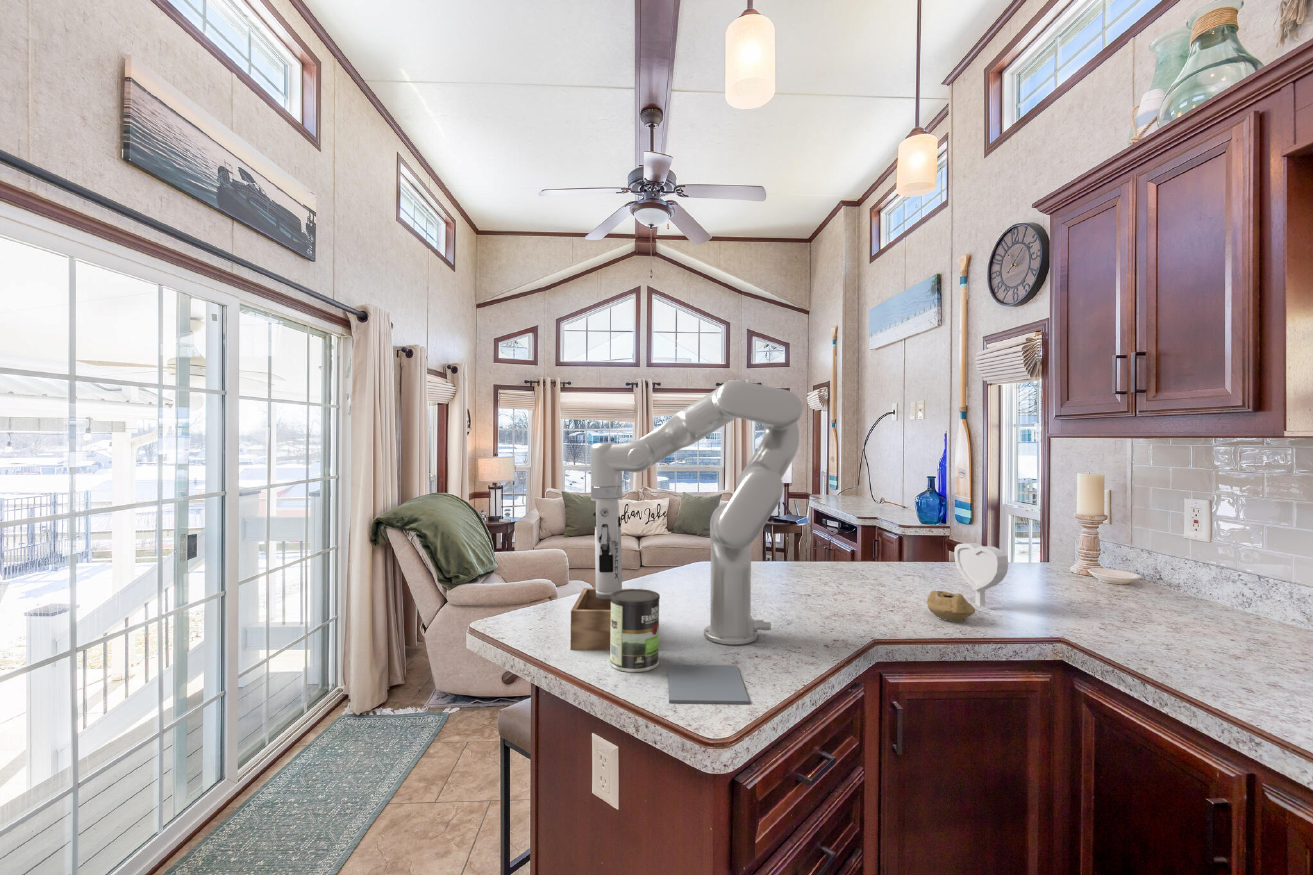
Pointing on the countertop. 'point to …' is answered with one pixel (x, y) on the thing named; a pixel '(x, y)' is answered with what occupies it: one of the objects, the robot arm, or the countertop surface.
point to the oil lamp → (949, 606)
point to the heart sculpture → (980, 567)
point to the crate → (591, 622)
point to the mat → (706, 684)
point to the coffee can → (634, 630)
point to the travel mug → (609, 580)
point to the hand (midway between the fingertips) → (607, 568)
